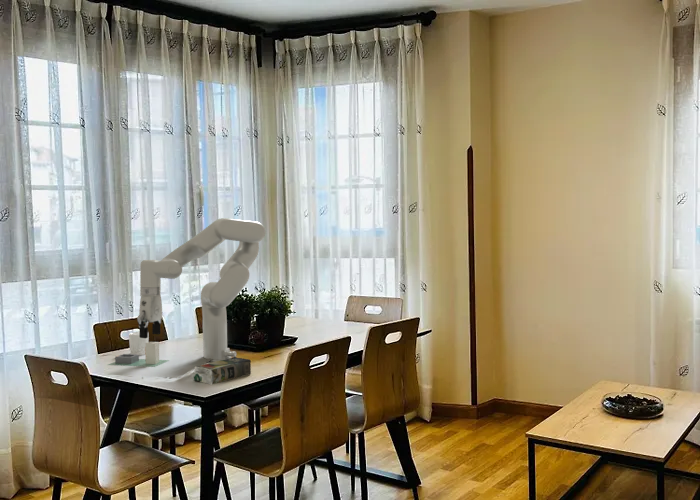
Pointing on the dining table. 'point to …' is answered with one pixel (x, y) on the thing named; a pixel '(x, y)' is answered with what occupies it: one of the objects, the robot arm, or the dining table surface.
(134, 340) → the white cup
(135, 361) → the board
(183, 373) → the dining table surface
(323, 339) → the dining table surface
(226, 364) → the juice carton
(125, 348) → the dining table surface
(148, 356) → the cream rectangular block
